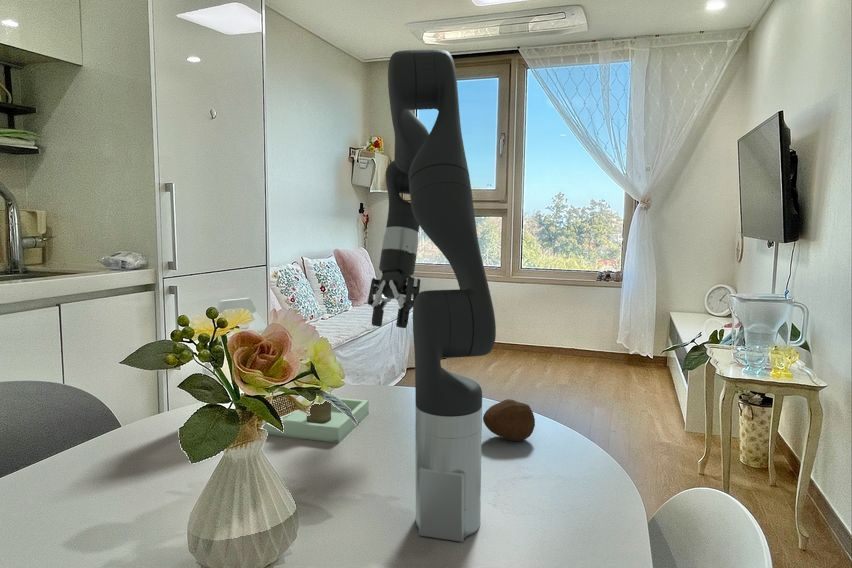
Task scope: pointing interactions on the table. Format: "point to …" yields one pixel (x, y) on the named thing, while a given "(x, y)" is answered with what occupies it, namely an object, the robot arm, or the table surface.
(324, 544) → the table surface
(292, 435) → the bin
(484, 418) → the potato
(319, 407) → the pepper mill
